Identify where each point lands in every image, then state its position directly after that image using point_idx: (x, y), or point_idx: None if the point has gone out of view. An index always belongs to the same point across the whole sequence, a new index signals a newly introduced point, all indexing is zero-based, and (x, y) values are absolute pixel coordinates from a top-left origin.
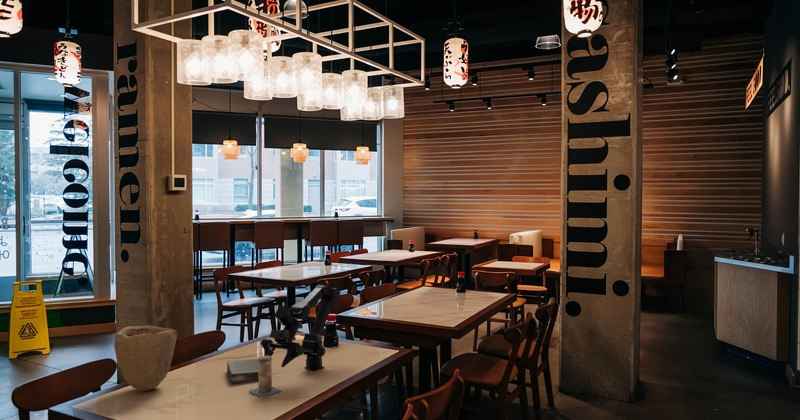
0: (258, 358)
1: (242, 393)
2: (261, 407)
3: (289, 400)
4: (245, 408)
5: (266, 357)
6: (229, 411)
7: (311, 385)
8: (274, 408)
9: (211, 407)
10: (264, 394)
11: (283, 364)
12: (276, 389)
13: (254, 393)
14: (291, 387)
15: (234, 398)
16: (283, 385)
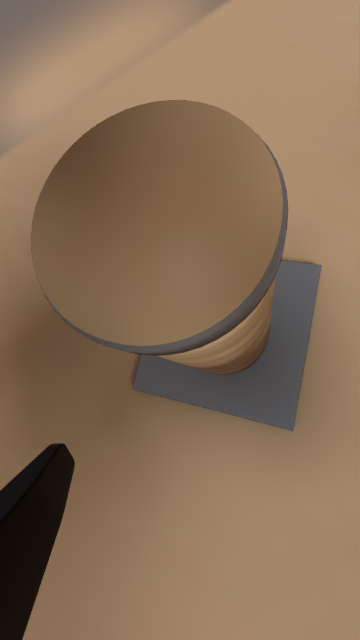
0: (217, 110)
1: (345, 237)
2: None
3: (15, 306)
4: None
5: (115, 228)
6: (178, 57)
7: None
8: (21, 197)
9: (304, 22)
10: None
11: (33, 469)
12: (169, 384)
13: None
14: (130, 494)
15: (310, 158)
16: (211, 508)
